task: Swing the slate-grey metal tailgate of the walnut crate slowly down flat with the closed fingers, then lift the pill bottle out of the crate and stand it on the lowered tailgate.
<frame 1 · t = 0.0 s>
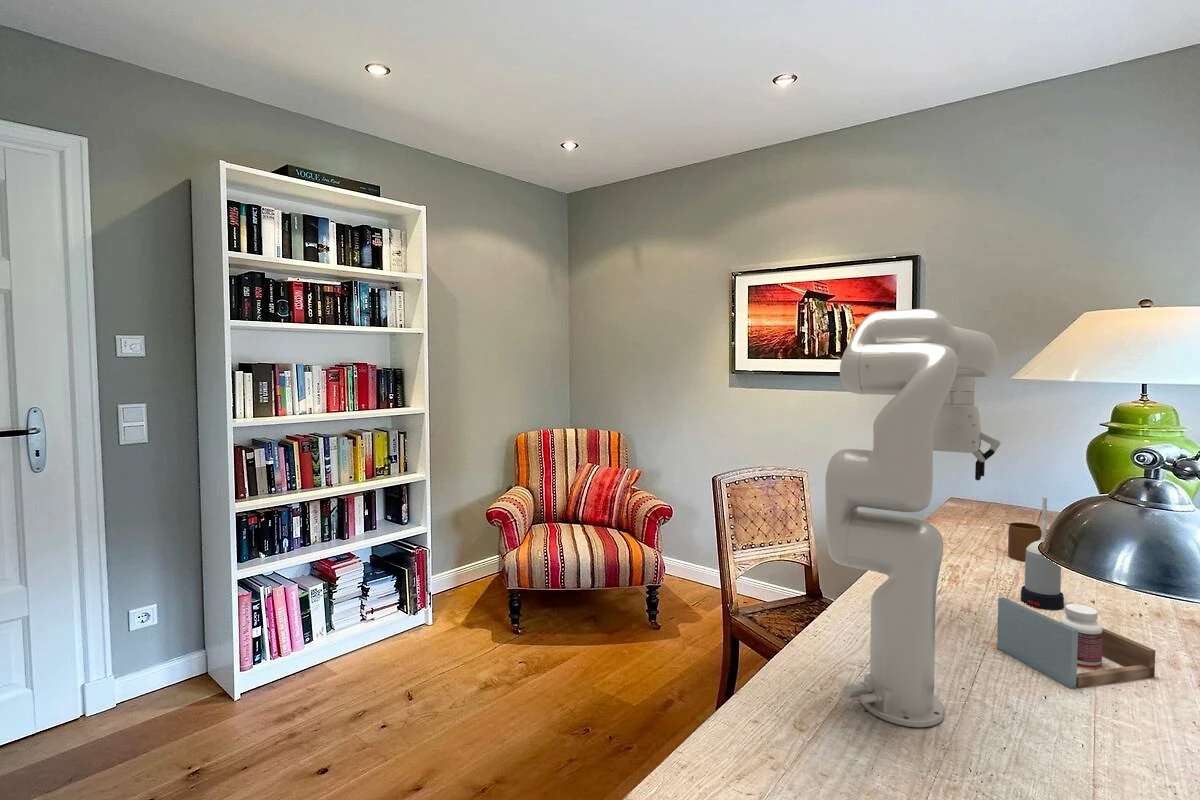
hand: (952, 477, 135), 31 cm above the table, tool pointing down, fingers open, 9 cm apart
mug: (1033, 560, 174), on the table
tailgate: (1034, 639, 112), point 6 cm above the table, hinge at 0.0°
pill bottle: (1079, 667, 114), resting in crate
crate: (1074, 667, 114), on the table
humidifier: (1041, 604, 143), on the table
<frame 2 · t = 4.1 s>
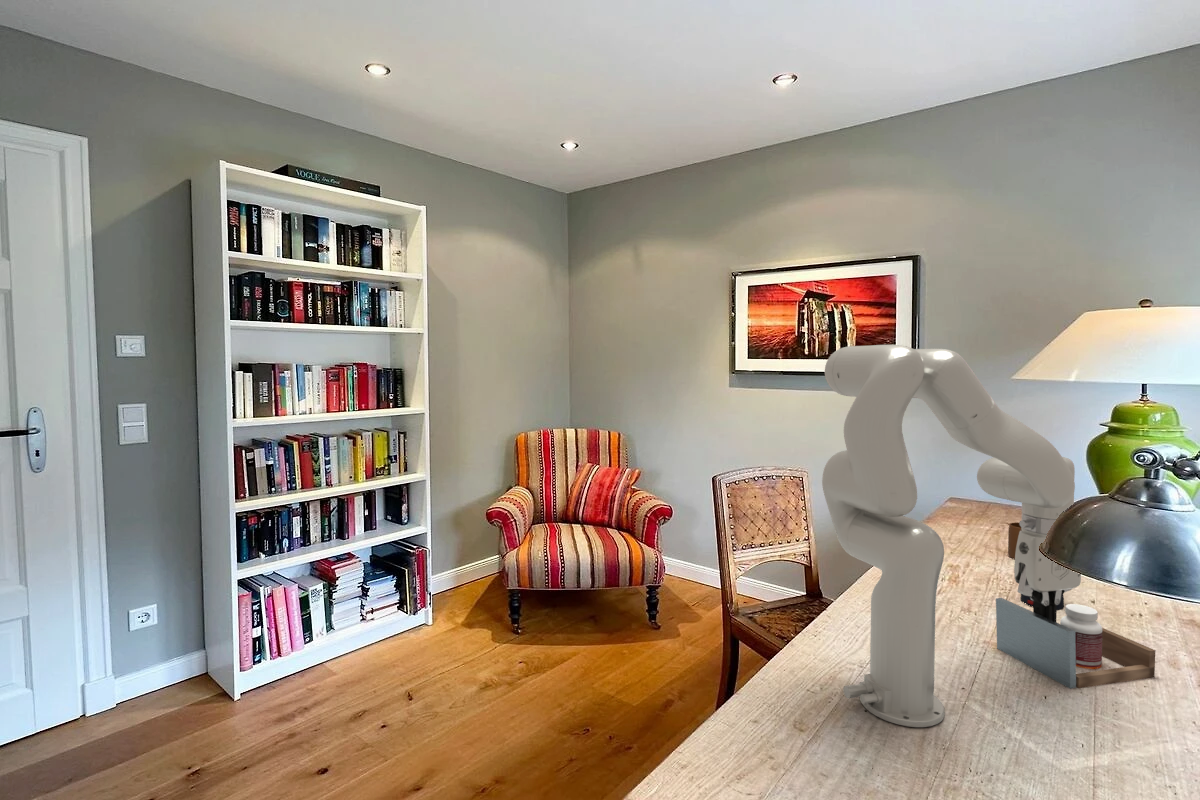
hand: (1044, 623, 112), 9 cm above the table, tool pointing down, fingers closed
tailgate: (1033, 640, 112), point 6 cm above the table, hinge at 3.4°, touching gripper
everything else where it was.
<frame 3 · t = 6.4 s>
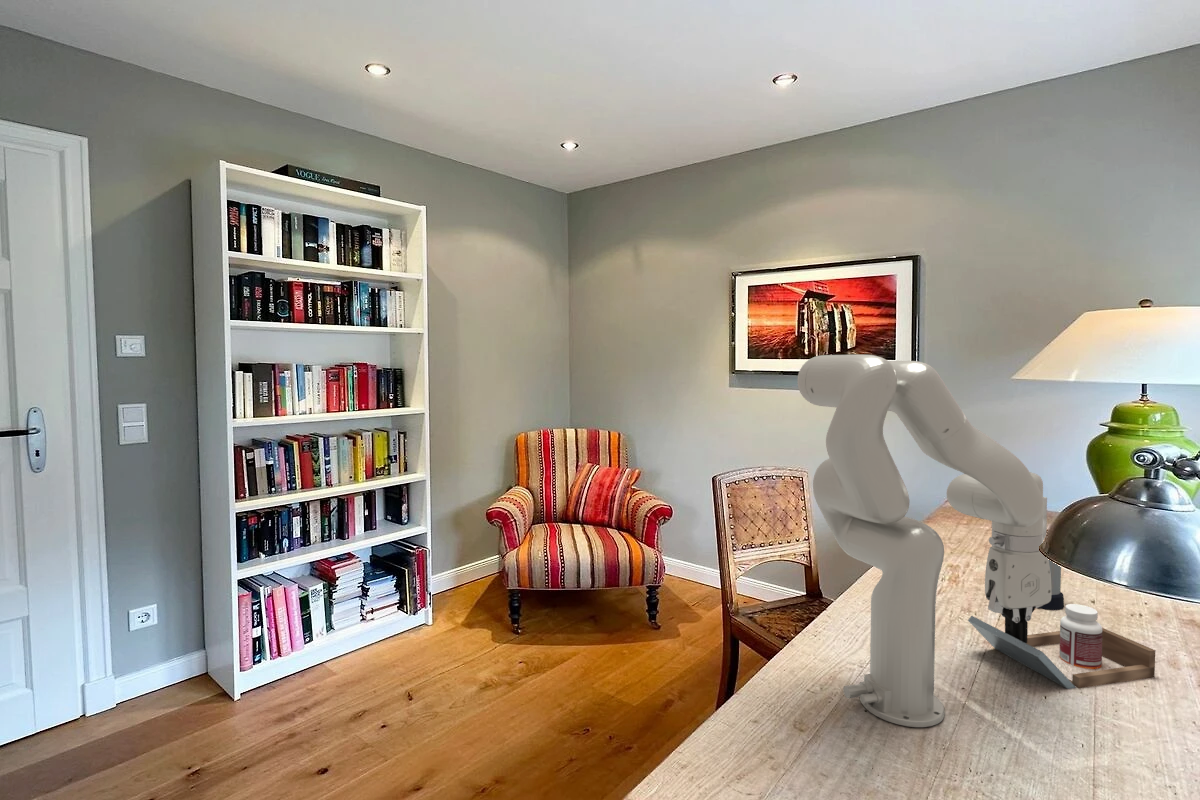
hand: (1015, 640, 111), 7 cm above the table, tool pointing down, fingers closed
tailgate: (1018, 652, 111), point 4 cm above the table, hinge at 45.1°, touching gripper
everything else where it was.
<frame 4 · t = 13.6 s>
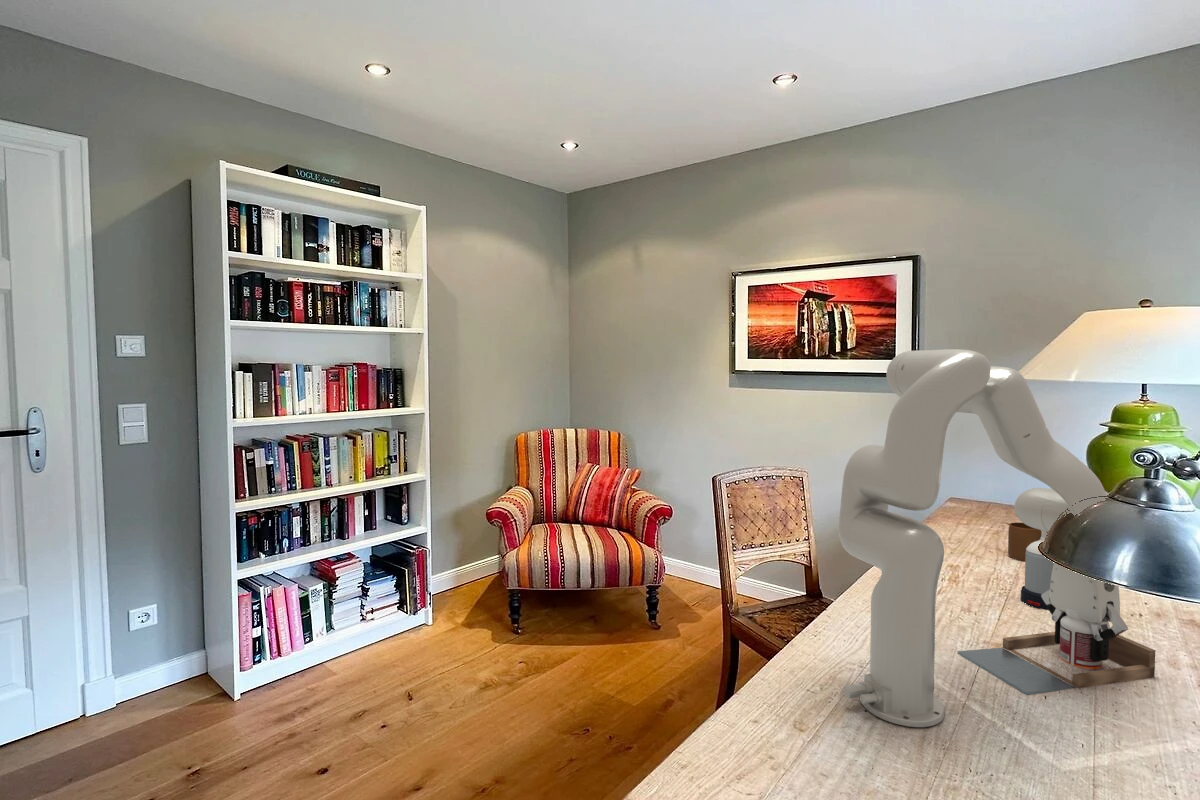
hand: (1080, 650, 114), 3 cm above the table, tool pointing down, fingers closed on pill bottle, 6 cm apart
tailgate: (1013, 671, 111), point 1 cm above the table, hinge at 87.7°
pill bottle: (1079, 667, 114), resting in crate, touching gripper
everything else where it was.
when the fingers open (5 cm above the table, at t = 18.9 s): pill bottle drops 1 cm, resting on tailgate.
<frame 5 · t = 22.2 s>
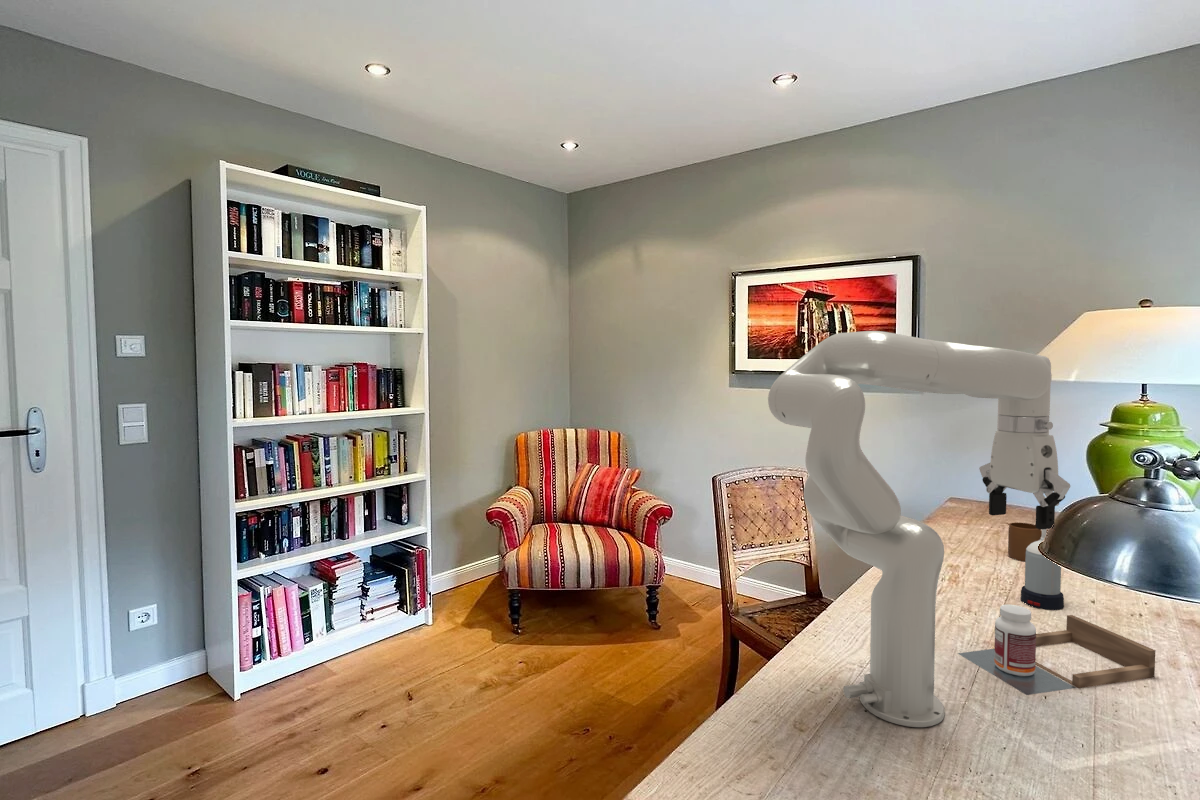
hand: (1020, 521, 109), 28 cm above the table, tool pointing down, fingers open, 9 cm apart
tailgate: (1013, 672, 111), point 1 cm above the table, hinge at 90.1°, touching pill bottle
pill bottle: (1014, 669, 111), point 1 cm above the table, touching tailgate
everything else where it was.
at the end: tailgate at +90° (first picture: +0°); pill bottle inside the target area (0.3 cm from its centre), point 1.0 cm above the table; pill bottle tilted 0° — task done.
